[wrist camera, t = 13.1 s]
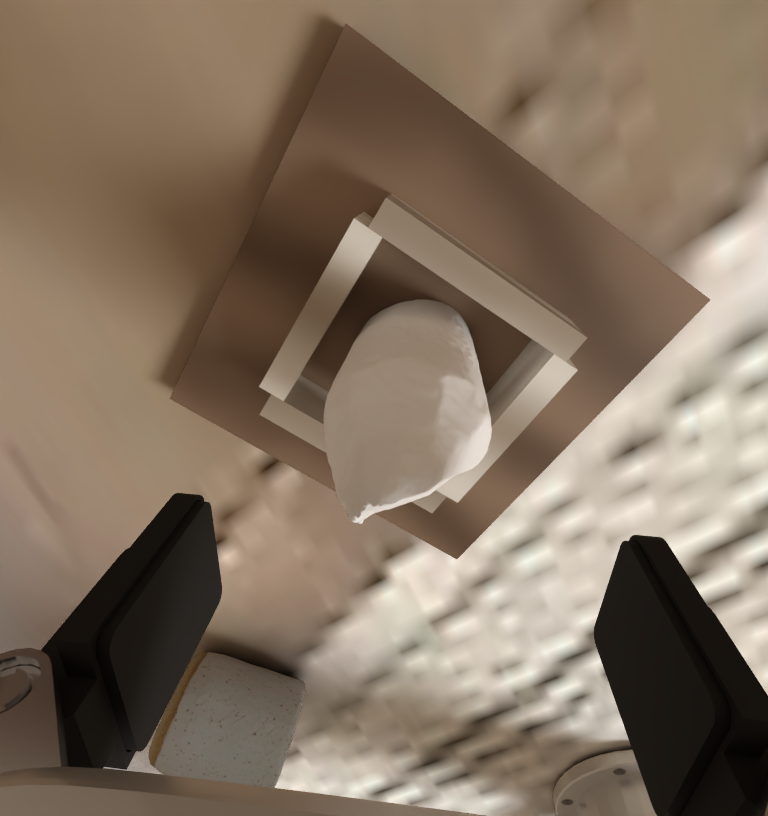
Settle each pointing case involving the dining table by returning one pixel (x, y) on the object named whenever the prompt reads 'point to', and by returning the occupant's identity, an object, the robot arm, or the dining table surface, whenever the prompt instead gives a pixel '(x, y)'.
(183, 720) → the ceramic mug
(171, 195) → the dining table surface
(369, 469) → the roll
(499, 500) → the stand
